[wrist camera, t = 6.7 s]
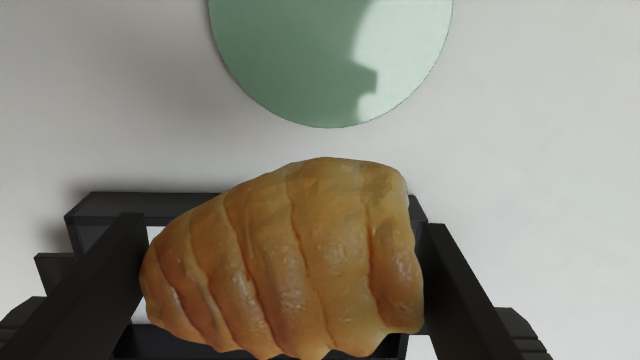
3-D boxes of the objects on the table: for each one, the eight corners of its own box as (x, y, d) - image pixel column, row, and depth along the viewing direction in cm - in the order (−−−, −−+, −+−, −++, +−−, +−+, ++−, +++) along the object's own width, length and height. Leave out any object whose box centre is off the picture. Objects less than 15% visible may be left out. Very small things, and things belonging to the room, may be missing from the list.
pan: (93, 330, 33) (70, 365, 30) (51, 191, 28) (18, 215, 24) (426, 330, 34) (438, 364, 31) (452, 196, 29) (470, 220, 25)
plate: (221, 122, 26) (218, 126, 25) (199, -143, 20) (193, -150, 19) (430, 125, 26) (434, 130, 25) (468, -132, 20) (476, -138, 19)
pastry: (191, 335, 16) (158, 428, 12) (119, 190, 13) (50, 258, 10) (419, 290, 15) (452, 375, 12) (394, 128, 12) (427, 176, 9)
